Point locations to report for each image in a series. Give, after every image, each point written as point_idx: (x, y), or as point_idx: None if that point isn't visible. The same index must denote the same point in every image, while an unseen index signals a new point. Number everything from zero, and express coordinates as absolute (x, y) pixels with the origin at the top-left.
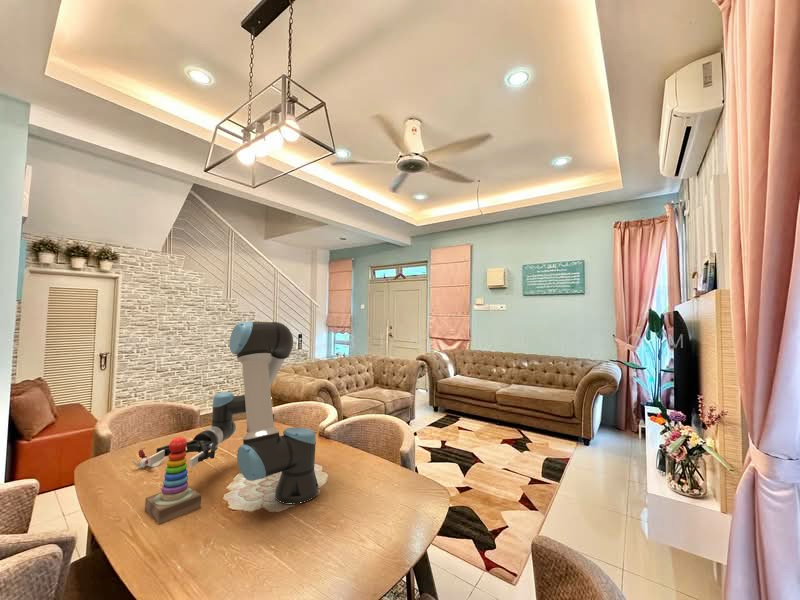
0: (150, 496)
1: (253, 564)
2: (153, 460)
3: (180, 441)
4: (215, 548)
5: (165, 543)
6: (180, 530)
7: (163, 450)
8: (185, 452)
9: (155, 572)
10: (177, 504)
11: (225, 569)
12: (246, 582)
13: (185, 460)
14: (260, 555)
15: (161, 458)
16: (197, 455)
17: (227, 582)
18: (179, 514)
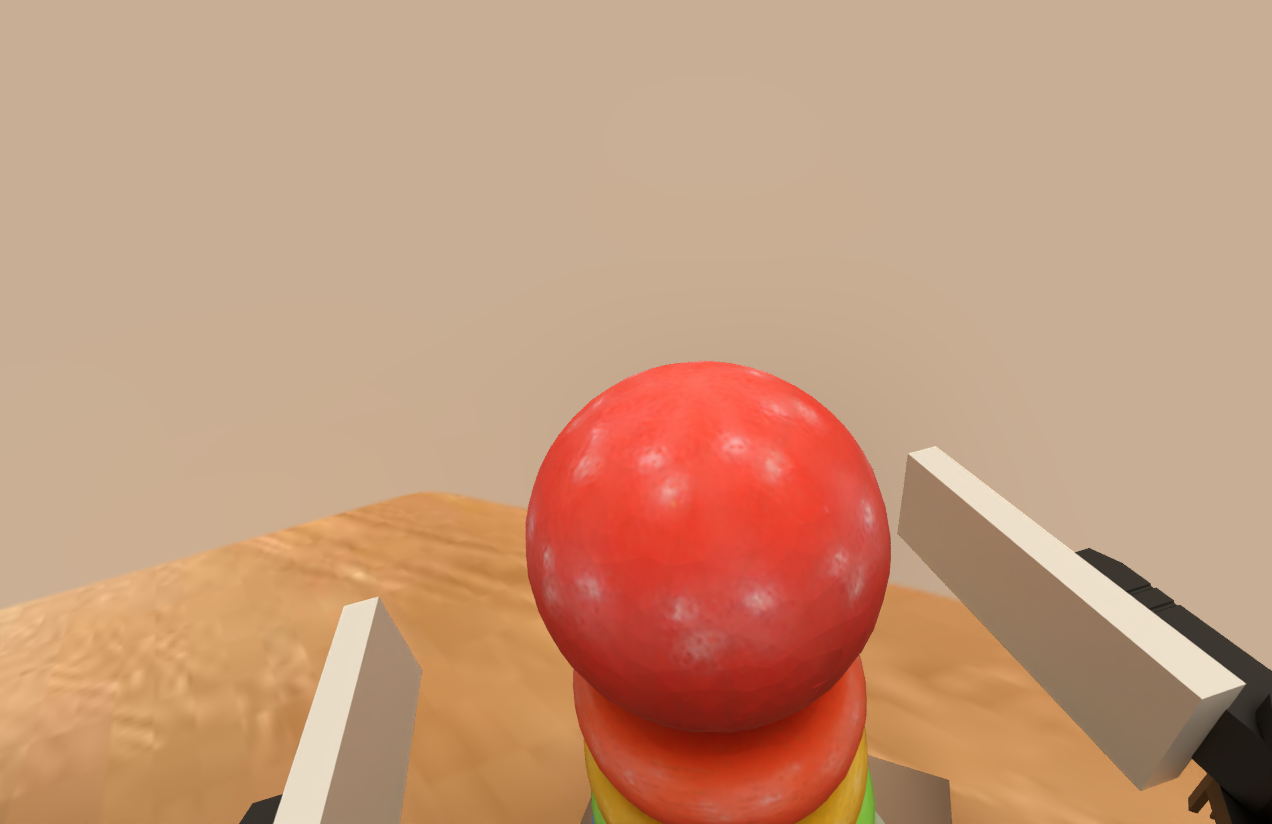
0: (943, 816)
1: (62, 674)
2: (936, 532)
3: (570, 424)
4: (238, 691)
5: (490, 635)
6: (481, 736)
7: (1177, 668)
8: (598, 729)
9: (426, 537)
10: (590, 802)
11: (181, 620)
12: (105, 605)
13: (590, 779)
14: (14, 728)
15: (1069, 699)
16: (306, 751)
17: (172, 585)
18: None
